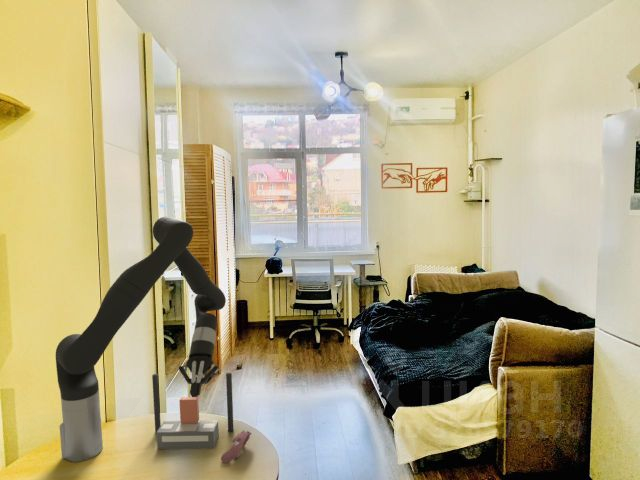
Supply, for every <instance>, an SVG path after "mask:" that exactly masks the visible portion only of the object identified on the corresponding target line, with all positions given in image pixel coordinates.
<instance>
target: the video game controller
mask: <svg viewBox="0 0 640 480" xmlns="http://www.w3.org/2000/svg"><path fill="white" fill-rule="evenodd" d="M251 435H252V433H251V432H250V431H249V430H245V429H243V430H241V432H240V433H238V434H237V435H236V436H235V437H234V438H233V440H232V445H231V447H230V448H229V449H228V450H226V451H225V452H224V453H222V455H221V456H220V461H221V462H222V463H223V464H224V463H225V464H226V463H227V464H228V463H230V462H231V461H233V460H234V459H237V458H239V456H240V455H242V454H243V453H244V450H245V449H246V447H245V446H246V444H247V442H248V441H249V440H250V437H251Z"/></svg>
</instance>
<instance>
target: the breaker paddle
mask: <svg viewBox="0 0 640 480" xmlns="http://www.w3.org/2000/svg"><path fill="white" fill-rule="evenodd" d="M199 407H200V405H199V396H198V397H192V396H188V397H186V396H182V397H180V398H179V415H180V417H179V419H180V420H179V421H180V422H181V423H198V421H200V409H199Z"/></svg>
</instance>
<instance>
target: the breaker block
mask: <svg viewBox="0 0 640 480" xmlns="http://www.w3.org/2000/svg"><path fill="white" fill-rule="evenodd" d="M161 423H162V424H161V426H160V428H159V429H158V431H157V432H156V433H155V434H156V446H157V447H156V449H157V450H169V449H170V450H174V449H175V450H184V449H187V450H189V449H195V450H196V449H215V447H216V444H217V441H218V440H219V437H220V435H219V420H199V421H198V423H181V422H180V420H172V421H171V420H167V421H165V420H164V421H162V422H161ZM217 439H218V440H217Z"/></svg>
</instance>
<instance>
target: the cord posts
mask: <svg viewBox="0 0 640 480" xmlns="http://www.w3.org/2000/svg"><path fill="white" fill-rule="evenodd" d="M151 377H152V380H151V381H152V393H153V394H152V396H153V414H154V429H155V430H154V431H155V432H154V433H155V434H156V432H157V431H158V429H159V428H160V426H161V425H162V424H161V423H162V422H161V408H160V407H161V406H160V390H159V389H160V386H159V374H158V373H154V374H152V375H151ZM225 379H226V380H225V381H226V384H225V385H226V404H227V407H226V409H227V431H228V433H233V432H234V429H235V428H234V410H233V409H234V407H233V402H234V401H233V380H232V379H233V376H232V372H227V373H226V375H225Z"/></svg>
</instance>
